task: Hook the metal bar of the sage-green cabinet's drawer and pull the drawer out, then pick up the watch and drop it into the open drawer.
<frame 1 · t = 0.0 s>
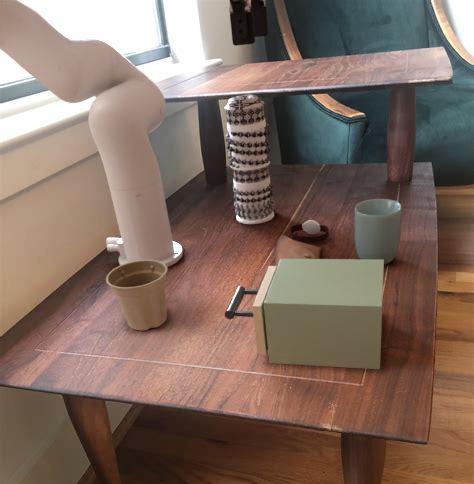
hand: (251, 40, 82), 37 cm above the table, tool pointing down, fingers open, 9 cm apart
drawer: (294, 309, 76), point 5 cm above the table, slide at 0.5 cm
sunglasses case: (299, 273, 96), on the table
flower pot: (148, 321, 88), on the table
cabinet: (328, 339, 78), on the table
decorative candle: (255, 217, 120), on the table
watch: (309, 240, 107), on the table
cup: (376, 261, 97), on the table
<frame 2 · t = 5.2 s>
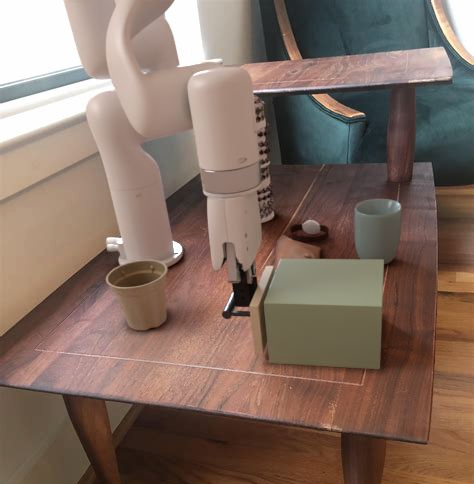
hand: (247, 303, 77), 6 cm above the table, tool pointing down, fingers closed
drawer: (291, 309, 76), point 5 cm above the table, slide at 0.9 cm, touching gripper
everything else where it was.
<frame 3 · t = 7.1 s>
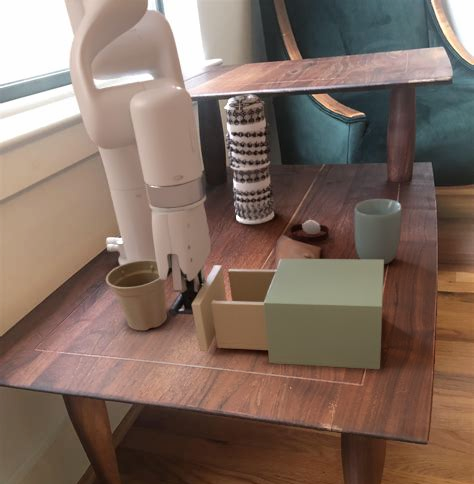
hand: (197, 310, 80), 4 cm above the table, tool pointing down, fingers closed
drawer: (236, 307, 79), point 5 cm above the table, slide at 8.9 cm, touching gripper
everything else where it was.
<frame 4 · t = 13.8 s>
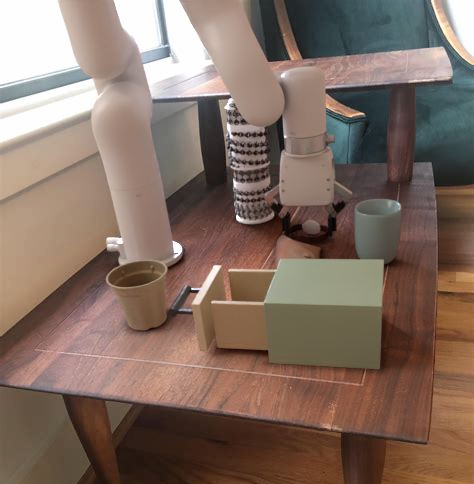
hand: (309, 233, 106), 1 cm above the table, tool pointing down, fingers closed on watch, 7 cm apart
drawer: (236, 307, 79), point 5 cm above the table, slide at 8.9 cm
watch: (309, 240, 107), on the table, touching gripper
everything else where it was.
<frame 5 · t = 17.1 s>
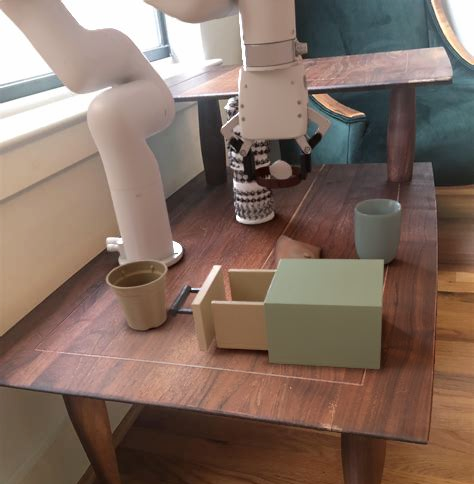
hand: (278, 177, 86), 18 cm above the table, tool pointing down, fingers closed on watch, 7 cm apart
watch: (278, 186, 86), point 16 cm above the table, touching gripper
everything else where it was.
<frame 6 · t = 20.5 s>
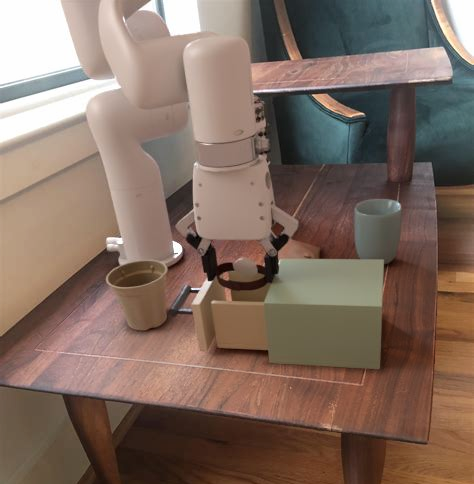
hand: (241, 276, 76), 10 cm above the table, tool pointing down, fingers closed on watch, 7 cm apart
watch: (242, 285, 76), point 8 cm above the table, touching gripper
everything else where it was.
when the fingers open (10 cm above the table, at t = 26.3 s): watch drops 7 cm, resting on drawer.
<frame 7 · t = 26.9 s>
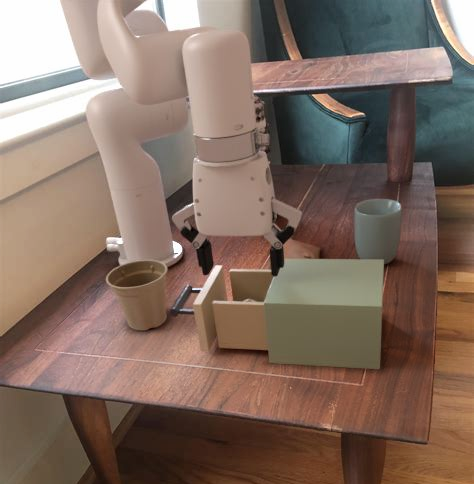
hand: (241, 271, 75), 11 cm above the table, tool pointing down, fingers open, 9 cm apart
drawer: (237, 307, 78), point 5 cm above the table, slide at 8.7 cm, touching watch
watch: (248, 325, 80), point 2 cm above the table, touching drawer
everything else where it was.
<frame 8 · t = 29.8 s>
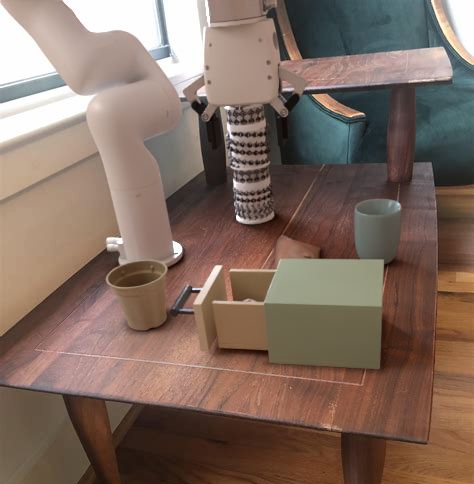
hand: (249, 145, 79), 24 cm above the table, tool pointing down, fingers open, 9 cm apart
nothing on the table moved.
at the end: drawer slide at 8.7 cm; watch inside the target area in the drawer (2.5 cm from its centre), point 1.8 cm above the cabinet's base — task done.
